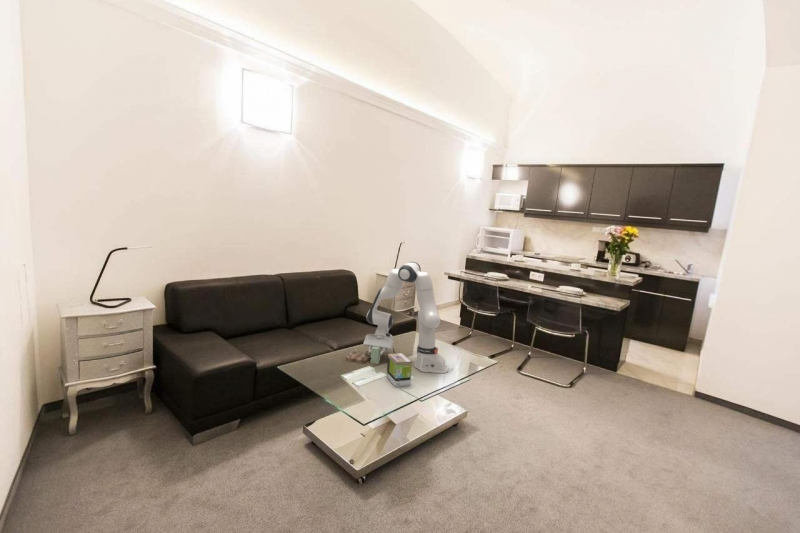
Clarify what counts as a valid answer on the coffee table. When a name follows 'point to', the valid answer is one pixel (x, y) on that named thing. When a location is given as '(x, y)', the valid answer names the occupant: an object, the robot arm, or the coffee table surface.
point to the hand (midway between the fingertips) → (375, 353)
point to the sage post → (375, 354)
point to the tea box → (399, 369)
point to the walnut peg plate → (358, 357)
